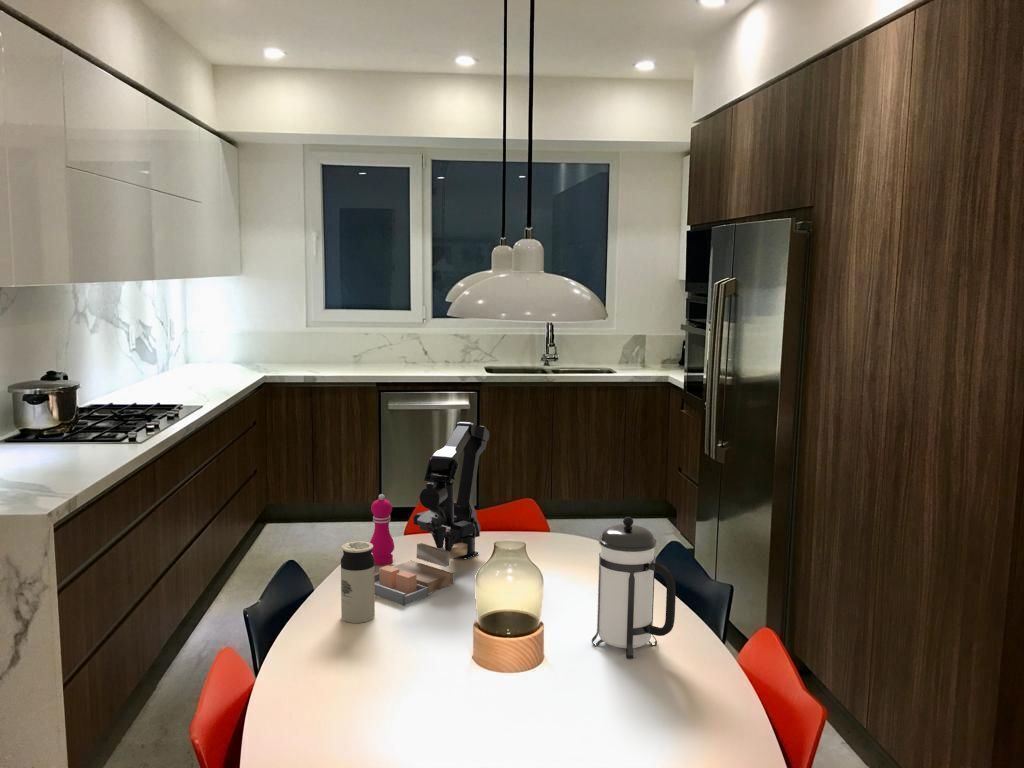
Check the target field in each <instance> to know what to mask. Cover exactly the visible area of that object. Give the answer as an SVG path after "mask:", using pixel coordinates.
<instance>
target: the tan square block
mask: <svg viewBox="0 0 1024 768" xmlns="http://www.w3.org/2000/svg"><path fill="white" fill-rule="evenodd" d="M378 573H379V584H380V585H382V586H385V587H388V588H394V587H396V574H397V573H399V569H398V568H394V566H391V565H389V564H386V565H384V566H382V567H379V570H378Z"/></svg>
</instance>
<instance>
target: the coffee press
mask: <svg viewBox="0 0 1024 768" xmlns="http://www.w3.org/2000/svg"><path fill="white" fill-rule="evenodd" d="M598 544H599V546H600V549H599V550H600V551H599V553H598V556H599V557H598V583H597V585H598V586H597V587H598V588H597V591H598V592H597V619H596V620H597V621H596V633H595V634H594V636H593V637H592V639H591V644H592V646H593V647H598V646H599V645H601V644H602V643H603V642H604V643H605V644H607V645H609V646H611V647H615V648H621V649H625V655H626V656H625V657H626V659H633V658H634V649H636V648H640V647H643V646H645V645H646V644H650V646H652V643H655V646H656V645H658V640H657V639H656V637H655V636H657V637H658V636H659V637H661V636H662V637H663V636H666V635H667V634H669V633H671V632H672V630H673V629H674V626H675V625H674V624H675V619H676V597H677V596H676V595H677V594H676V592H677V591H676V589H677V588H676V580H675V578H674V576H673V574H672V573H673V572H671V571H670V570H669V569H668V568H667V567H666V565H663V564H660V563H656V556H655V549H656V547H657V539H656V538H655V536H654V534H653V532H652V531H651V530H649V528H646V527H645V526H644V527H643V526H642V525H637V524H634V520H633V518H632V517H630V516H625V517H624V518H623V520H622V524H613V525H610V526H608V527H607V528H605V529H604V530H602V533H601V535H599V537H598ZM655 573H656V574H657V573H658V574H659V575H661V577H663V579H664V581H665V585H666V592H665V593H666V596H665V597H666V598H665V599H666V600H665V620H664V621H665V622H664V624H663V626H662V627H658V626H655V625H653V624H654V623H653V622H654V597H655V596H654V595H655ZM598 636H599V638H600V639H599V640H598V641H597V642H596V646H595V644H594V643H595V640H596V639H597V637H598ZM651 638H653V639H654V640H655V641H654V642H651V641H650V640H651Z"/></svg>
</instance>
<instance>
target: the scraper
mask: <svg viewBox="0 0 1024 768" xmlns="http://www.w3.org/2000/svg"><path fill="white" fill-rule="evenodd" d="M463 555H467V544H465V543H462V542H461V543H457V544H454V545H453V547H452V549H451V551H450V552H449V551H446V550H445V546H443V547H442V548H437V547H436V546H432V545H428V544H425V543H422V542H421V543H417V544H416V559H418V560H421V561H424V562H427V563H431V564H434V565H436V566H437V565H438V566H440V567H443V568H447V567H450V560H451V559H452V560H453V559H455V558H459V556H463Z"/></svg>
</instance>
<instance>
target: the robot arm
mask: <svg viewBox="0 0 1024 768" xmlns="http://www.w3.org/2000/svg"><path fill="white" fill-rule="evenodd" d="M489 439H490V431H489V430H488V429H487V427H486V426H485V425H477V424H475V423H473V422H467V421H459V422H457V423H456V425H455V429H454V431H453V432H452V434H451V436H450V437H449V438H448V440H447V442H446V443H445V445H444V447H442V448H440V449H438V450H436V451H435V452H434V453H433V454H432V455H431V457H430V458H429V460H428V464H427V468H426V471H425V475H424V482H427V483H426V487H425V488H424V489H422V490H421V492H420V494H419V502H420V504H421V505H422V506H423V507H424V508H425V509H427V510H425V511H421V512H419V513H416V514H415V515H414V517H413V525H415V526H418V527H419V530H420V531H426V532H427V533H430V534H431V536H432V539H433V540H434V544H435V547H436V548H442V547H445V550H446V551H449V552H450V551H451V549H452V547H453V545H454V544H457V543H461V542H462V543H465V544H467V555H463V556H459V557H458V558H459V559H462V558H463V560H465V559H464V558H467V559H469V558H468V557H470V558H472V557H474V556H473V555H475V556H477V555H476V554H478V553H479V552H478V551H475V549H476V538H478V537H480V536H481V534H480V533H481V525H480V523H479V520H478V519H477V515H478V514H477V510H476V508H475V506H474V504H473V503H474V496H475V489H476V481H477V476H478V466H479V462H480V461H479V460H480V456H481V454H482V453H483V452H484V451H485V450H486V449H487V444H488V442H489ZM462 453H463V457H462V463H461V469H460V470H461V471H460V477H459V484H458V489H457V490H458V492H457V498H456V501H455V480H456V478H457V474H458V471H459V468H460V464H459V463H460V462H459V458H460V457H461V456H460V455H461V454H462ZM478 555H479V554H478ZM471 556H472V557H471Z"/></svg>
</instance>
